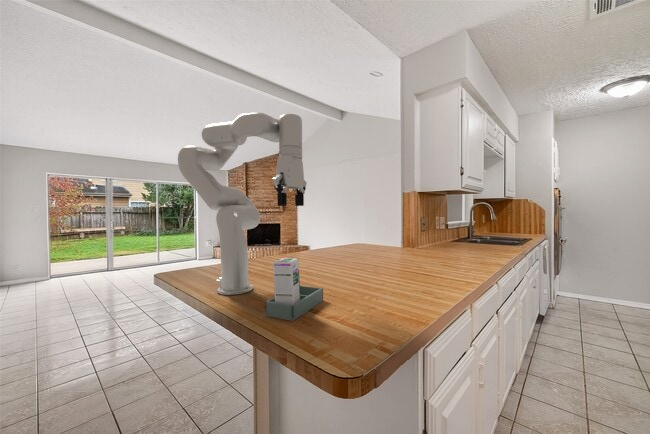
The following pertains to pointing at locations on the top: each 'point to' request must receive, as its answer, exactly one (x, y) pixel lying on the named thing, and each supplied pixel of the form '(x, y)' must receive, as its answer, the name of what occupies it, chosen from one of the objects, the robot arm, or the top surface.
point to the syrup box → (286, 280)
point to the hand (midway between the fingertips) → (291, 205)
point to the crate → (292, 312)
